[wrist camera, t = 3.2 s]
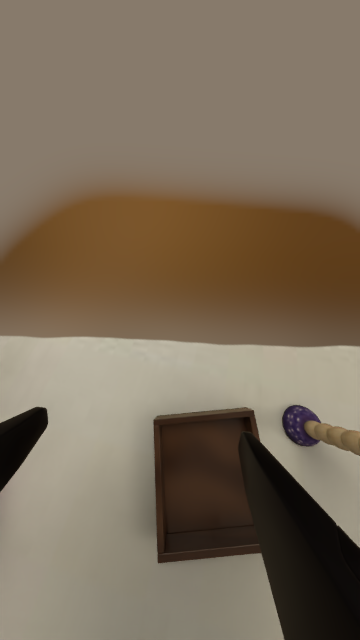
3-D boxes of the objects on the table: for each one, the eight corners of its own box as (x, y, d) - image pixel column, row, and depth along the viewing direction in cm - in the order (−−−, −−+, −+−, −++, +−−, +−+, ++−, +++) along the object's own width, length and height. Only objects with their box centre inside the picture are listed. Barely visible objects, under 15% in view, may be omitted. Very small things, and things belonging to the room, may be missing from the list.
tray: (270, 528, 18) (283, 551, 15) (161, 539, 18) (157, 563, 15) (245, 407, 22) (253, 410, 19) (156, 415, 22) (153, 419, 19)
